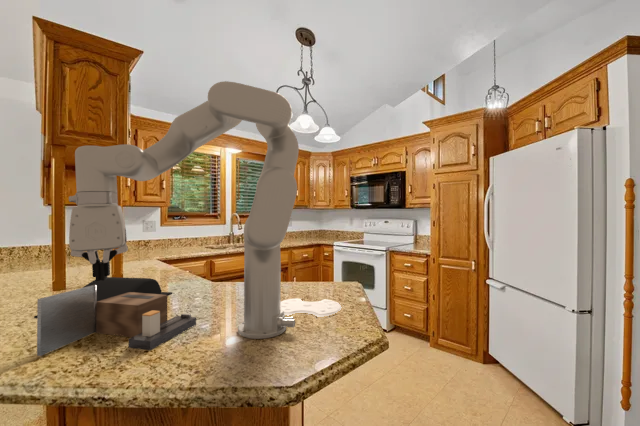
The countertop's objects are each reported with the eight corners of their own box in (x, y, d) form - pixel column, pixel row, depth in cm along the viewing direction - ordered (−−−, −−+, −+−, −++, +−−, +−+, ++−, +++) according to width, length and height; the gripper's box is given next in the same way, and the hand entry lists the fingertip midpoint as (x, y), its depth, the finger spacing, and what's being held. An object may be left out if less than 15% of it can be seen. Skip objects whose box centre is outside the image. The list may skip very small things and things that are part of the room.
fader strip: (195, 324, 82) (195, 315, 82) (150, 350, 66) (150, 338, 66) (177, 322, 83) (177, 313, 83) (128, 347, 68) (128, 335, 68)
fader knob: (160, 331, 72) (160, 310, 72) (150, 336, 69) (150, 315, 69) (152, 330, 72) (152, 310, 72) (142, 335, 69) (142, 314, 69)
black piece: (115, 293, 117) (34, 320, 87) (116, 272, 117) (34, 291, 87) (172, 295, 114) (107, 323, 84) (172, 273, 114) (107, 294, 84)
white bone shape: (279, 294, 109) (347, 296, 106) (279, 299, 109) (347, 301, 106) (261, 312, 89) (344, 315, 86) (261, 317, 89) (344, 321, 86)
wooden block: (167, 323, 83) (167, 294, 83) (137, 337, 73) (137, 305, 73) (129, 319, 86) (129, 291, 86) (95, 332, 76) (96, 301, 76)
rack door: (40, 356, 62) (41, 299, 63) (32, 355, 63) (32, 298, 63) (97, 331, 76) (97, 284, 76) (90, 331, 76) (90, 284, 76)
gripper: (49, 200, 62) (53, 288, 62) (133, 199, 68) (136, 278, 68) (63, 202, 69) (66, 281, 69) (138, 200, 75) (141, 272, 75)
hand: (101, 279), depth 68 cm, fingers closed
